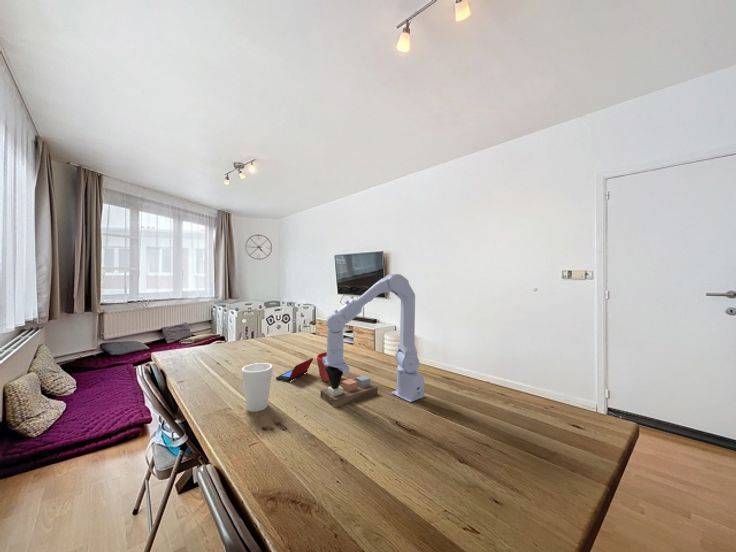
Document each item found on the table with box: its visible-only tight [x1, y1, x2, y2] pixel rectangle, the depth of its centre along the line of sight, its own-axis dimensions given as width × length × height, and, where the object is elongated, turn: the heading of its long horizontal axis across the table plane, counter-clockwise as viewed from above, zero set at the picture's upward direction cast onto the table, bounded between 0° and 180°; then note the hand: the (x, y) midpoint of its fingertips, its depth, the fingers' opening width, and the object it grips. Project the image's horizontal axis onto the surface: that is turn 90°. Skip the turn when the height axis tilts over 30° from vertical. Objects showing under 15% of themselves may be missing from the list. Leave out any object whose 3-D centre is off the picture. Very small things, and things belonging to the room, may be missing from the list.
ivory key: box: [326, 386, 343, 396], centre depth 99 cm, size 4×4×3 cm
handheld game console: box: [275, 357, 314, 383], centre depth 121 cm, size 12×11×7 cm
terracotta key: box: [341, 378, 357, 392], centre depth 102 cm, size 4×4×3 cm
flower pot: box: [316, 351, 330, 382], centre depth 119 cm, size 11×11×10 cm
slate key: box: [354, 375, 371, 388], centre depth 106 cm, size 4×4×3 cm
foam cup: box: [240, 362, 274, 413], centre depth 93 cm, size 10×9×13 cm
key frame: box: [320, 382, 379, 409], centre depth 102 cm, size 10×18×2 cm, turn 128°
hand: (335, 388), depth 99 cm, fingers closed, pressing on ivory key
